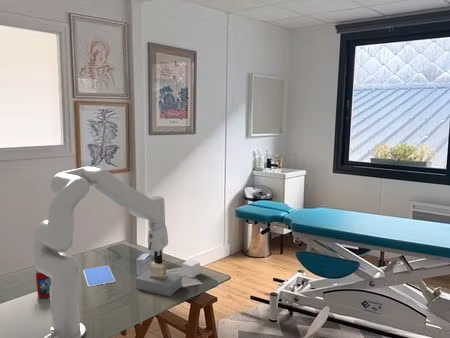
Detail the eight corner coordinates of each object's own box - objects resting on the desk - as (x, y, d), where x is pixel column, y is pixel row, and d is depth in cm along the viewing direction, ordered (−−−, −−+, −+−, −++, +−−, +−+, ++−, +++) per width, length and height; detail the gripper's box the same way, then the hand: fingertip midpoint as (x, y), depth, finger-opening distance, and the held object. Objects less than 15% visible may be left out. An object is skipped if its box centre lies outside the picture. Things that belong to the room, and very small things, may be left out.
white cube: (199, 273, 203) (199, 262, 202) (191, 278, 199) (191, 266, 197) (191, 270, 207) (191, 259, 206) (182, 274, 202) (182, 263, 201)
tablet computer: (115, 283, 195) (115, 280, 195) (88, 288, 190) (88, 286, 189) (108, 267, 212) (108, 264, 212) (82, 271, 207) (82, 269, 206)
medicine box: (145, 276, 200) (144, 259, 198) (136, 275, 201) (136, 259, 199) (151, 269, 208) (150, 253, 206) (143, 268, 209) (142, 252, 207)
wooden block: (162, 290, 187) (162, 265, 184) (151, 287, 189) (150, 263, 187) (166, 287, 190) (165, 262, 187) (155, 284, 192) (154, 260, 190)
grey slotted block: (169, 296, 181) (169, 285, 180) (135, 288, 188) (135, 278, 187) (181, 285, 191) (181, 275, 190) (149, 278, 198) (148, 269, 197)
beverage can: (44, 300, 178) (41, 274, 176) (34, 296, 182) (31, 270, 179) (57, 293, 184) (55, 268, 182) (48, 289, 187) (45, 265, 185)
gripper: (154, 230, 175) (156, 270, 179) (172, 220, 189) (174, 257, 192) (139, 228, 178) (141, 267, 182) (158, 218, 192) (160, 255, 195)
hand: (158, 262), depth 187 cm, fingers closed
